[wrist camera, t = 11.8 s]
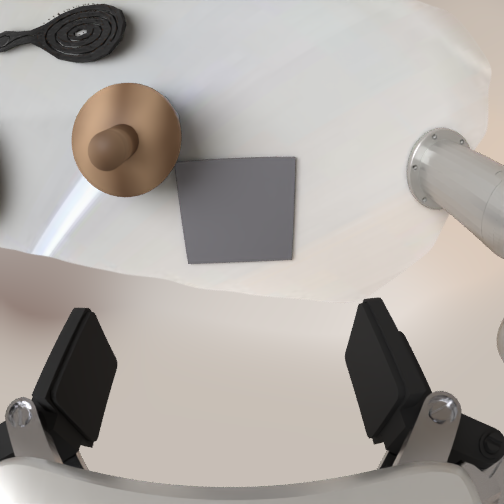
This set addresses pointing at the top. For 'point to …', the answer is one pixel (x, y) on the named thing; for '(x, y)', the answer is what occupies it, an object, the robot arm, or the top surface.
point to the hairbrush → (58, 30)
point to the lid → (126, 139)
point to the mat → (237, 208)
